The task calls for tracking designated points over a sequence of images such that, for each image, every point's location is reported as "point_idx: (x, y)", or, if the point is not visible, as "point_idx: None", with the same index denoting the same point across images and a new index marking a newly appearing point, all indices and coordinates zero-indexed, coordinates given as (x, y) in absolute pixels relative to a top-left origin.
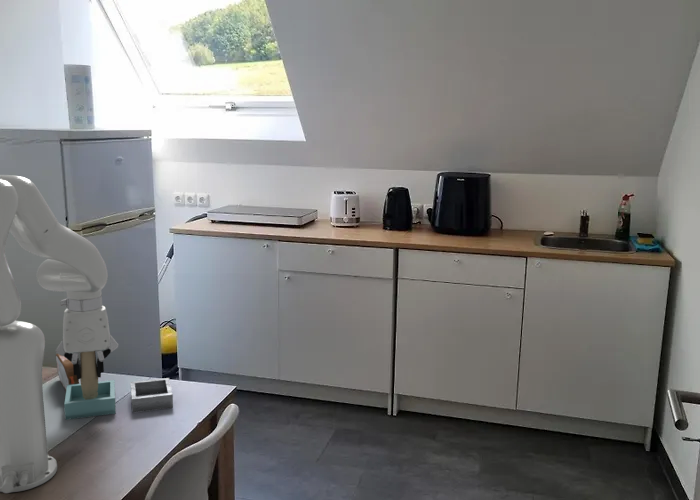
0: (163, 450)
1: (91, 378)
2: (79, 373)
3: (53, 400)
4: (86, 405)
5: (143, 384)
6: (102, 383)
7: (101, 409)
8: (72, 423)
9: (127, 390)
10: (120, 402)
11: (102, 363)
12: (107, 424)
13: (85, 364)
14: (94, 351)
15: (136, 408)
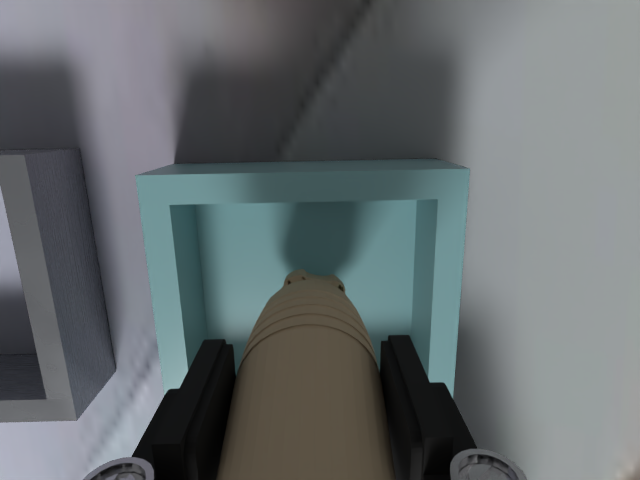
0: None
1: (285, 331)
2: (394, 367)
3: (491, 401)
4: (326, 168)
5: (4, 390)
6: None
7: (241, 166)
8: (399, 103)
9: (141, 426)
10: None
11: (142, 451)
12: (206, 30)
13: (336, 431)
14: None
15: (41, 150)
